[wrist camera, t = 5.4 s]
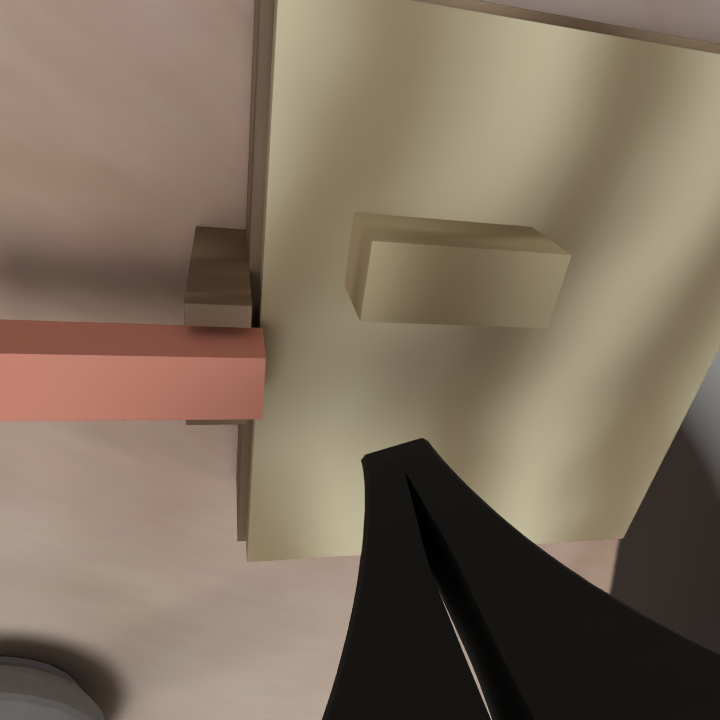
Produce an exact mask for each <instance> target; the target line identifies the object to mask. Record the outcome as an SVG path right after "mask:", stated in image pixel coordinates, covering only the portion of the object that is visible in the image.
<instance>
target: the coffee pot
mask: <svg viewBox="0 0 720 720" xmlns="http://www.w3.org/2000/svg"><path fill="white" fill-rule="evenodd" d="M0 720H105V718H104V716H103V713H102V711H101V709H100V708H99V707H98V705H97V704H96V703H95V702H94V701H93V700H92V699H91V698H90V697H89V696H88V695H87V694H86V693H85V692H84V691H83V690H82V689H81V688H80V687H79V685H78V683H77V682H75V681H74V680H73V679H72V678H71V677H70V676H69V675H68V674H67V673H65V672H63V671H61V670H59V669H58V668H56V667H54V666H52V665H49V664H45V663H42V662H39V661H35V660H32V659H24V658H16V657H0Z"/></svg>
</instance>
